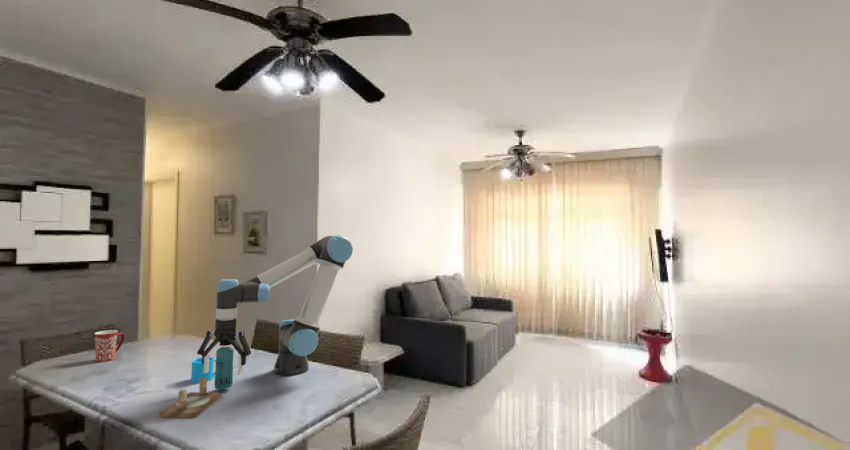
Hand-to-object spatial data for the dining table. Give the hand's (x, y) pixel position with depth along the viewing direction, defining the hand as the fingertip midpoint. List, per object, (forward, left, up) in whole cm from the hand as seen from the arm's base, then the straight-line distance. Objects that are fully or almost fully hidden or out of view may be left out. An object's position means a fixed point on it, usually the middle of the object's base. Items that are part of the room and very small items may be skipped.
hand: (223, 373), depth 161 cm
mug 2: (+14, -14, -7) cm, 21 cm away
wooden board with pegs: (+3, +16, -7) cm, 17 cm away
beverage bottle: (0, 0, -7) cm, 7 cm away
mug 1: (+75, -39, -7) cm, 85 cm away
